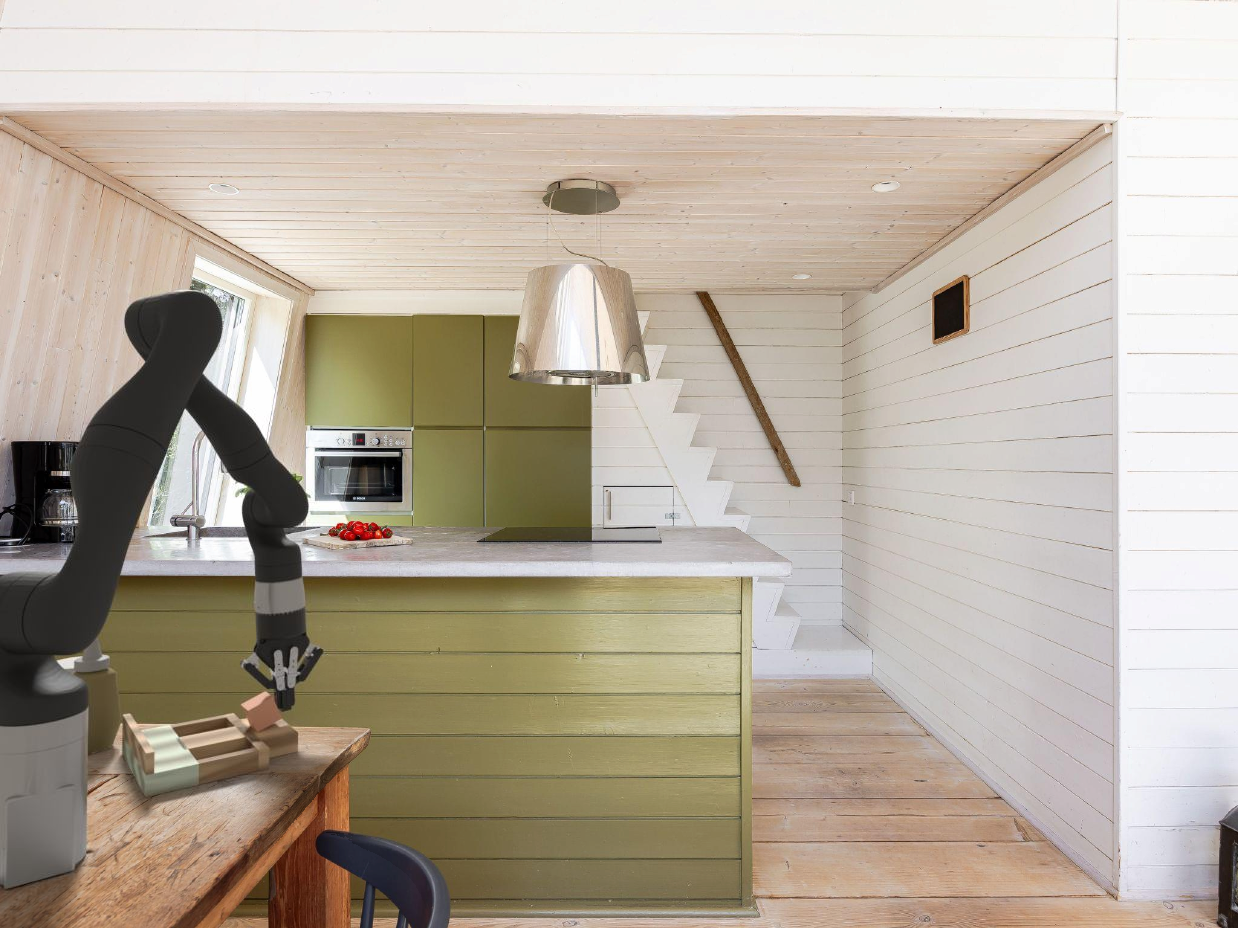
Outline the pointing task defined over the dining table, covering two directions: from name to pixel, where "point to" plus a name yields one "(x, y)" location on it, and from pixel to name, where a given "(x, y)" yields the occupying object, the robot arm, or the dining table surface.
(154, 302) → the robot arm
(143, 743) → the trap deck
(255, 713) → the block
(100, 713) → the squeeze bottle
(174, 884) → the dining table surface
